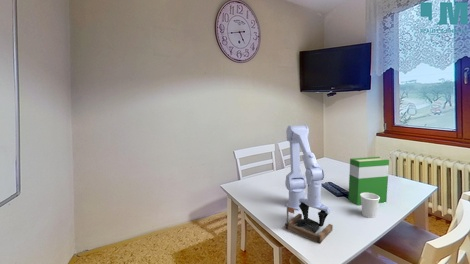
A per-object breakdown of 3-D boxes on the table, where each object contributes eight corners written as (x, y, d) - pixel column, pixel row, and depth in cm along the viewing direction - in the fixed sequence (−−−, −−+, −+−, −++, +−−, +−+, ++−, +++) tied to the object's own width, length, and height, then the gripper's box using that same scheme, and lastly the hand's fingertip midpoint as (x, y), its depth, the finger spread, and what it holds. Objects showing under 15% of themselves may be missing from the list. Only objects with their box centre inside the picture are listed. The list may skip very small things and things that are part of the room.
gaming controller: (294, 224, 104) (300, 212, 106) (300, 229, 107) (305, 217, 109) (313, 233, 96) (319, 220, 98) (318, 238, 99) (324, 226, 101)
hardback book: (376, 197, 133) (378, 156, 130) (386, 202, 126) (389, 159, 123) (348, 199, 130) (350, 158, 127) (357, 205, 123) (359, 162, 120)
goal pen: (298, 218, 111) (299, 197, 110) (332, 230, 100) (333, 207, 99) (285, 228, 102) (285, 206, 101) (320, 243, 91) (320, 218, 90)
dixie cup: (381, 220, 108) (383, 199, 106) (362, 218, 109) (363, 198, 108) (374, 211, 116) (375, 192, 114) (356, 210, 117) (357, 191, 116)
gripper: (334, 196, 99) (333, 225, 101) (305, 187, 111) (305, 213, 112) (325, 201, 95) (324, 231, 97) (296, 191, 106) (296, 218, 108)
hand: (313, 222), depth 104 cm, fingers open, 7 cm apart
